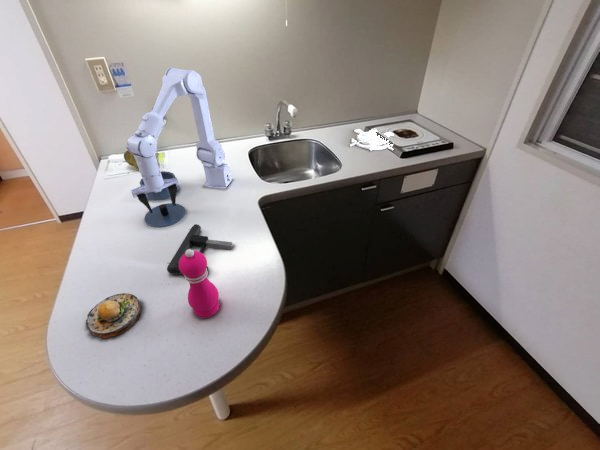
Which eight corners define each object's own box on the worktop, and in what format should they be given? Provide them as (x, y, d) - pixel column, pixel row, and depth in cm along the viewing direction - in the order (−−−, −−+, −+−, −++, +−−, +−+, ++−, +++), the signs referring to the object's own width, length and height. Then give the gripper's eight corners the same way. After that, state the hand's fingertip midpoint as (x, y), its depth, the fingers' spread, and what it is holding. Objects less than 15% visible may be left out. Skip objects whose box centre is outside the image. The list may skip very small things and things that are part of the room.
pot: (184, 186, 124) (181, 173, 120) (168, 203, 114) (163, 189, 110) (156, 183, 126) (152, 169, 122) (138, 199, 116) (132, 186, 112)
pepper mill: (195, 297, 80) (175, 240, 68) (223, 295, 81) (208, 238, 68) (189, 321, 74) (167, 263, 62) (219, 318, 75) (203, 261, 62)
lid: (192, 207, 112) (190, 197, 109) (173, 231, 101) (169, 220, 99) (159, 203, 114) (155, 193, 111) (137, 226, 104) (132, 215, 101)
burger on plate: (147, 295, 81) (137, 276, 76) (133, 335, 71) (122, 316, 67) (99, 300, 80) (86, 280, 75) (79, 341, 70) (63, 322, 66)
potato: (144, 175, 131) (137, 158, 126) (124, 168, 136) (118, 151, 131) (159, 167, 137) (154, 150, 132) (140, 160, 142) (134, 144, 137)
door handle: (237, 228, 99) (188, 222, 99) (217, 274, 83) (160, 267, 84) (237, 236, 101) (190, 230, 101) (218, 282, 85) (162, 275, 86)
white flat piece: (348, 148, 151) (348, 146, 150) (354, 128, 172) (355, 125, 171) (393, 153, 146) (393, 150, 146) (393, 131, 168) (394, 129, 167)
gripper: (128, 184, 91) (143, 220, 100) (177, 171, 97) (187, 206, 106) (124, 175, 96) (138, 210, 104) (171, 163, 102) (181, 197, 110)
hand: (162, 207), depth 105 cm, fingers open, 7 cm apart
